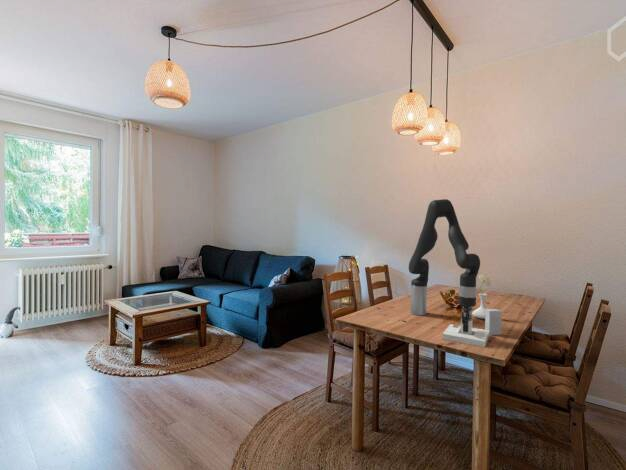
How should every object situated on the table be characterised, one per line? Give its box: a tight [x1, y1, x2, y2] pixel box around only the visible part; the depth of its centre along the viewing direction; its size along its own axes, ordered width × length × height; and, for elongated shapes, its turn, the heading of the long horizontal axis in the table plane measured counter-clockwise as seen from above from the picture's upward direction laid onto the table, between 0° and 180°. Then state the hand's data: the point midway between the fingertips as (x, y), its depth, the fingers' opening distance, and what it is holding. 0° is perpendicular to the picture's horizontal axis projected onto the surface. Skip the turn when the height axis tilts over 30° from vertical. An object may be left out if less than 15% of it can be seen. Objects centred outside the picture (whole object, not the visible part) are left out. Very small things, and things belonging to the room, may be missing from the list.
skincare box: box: [484, 308, 502, 336], centre depth 166 cm, size 6×4×12 cm
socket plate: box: [442, 323, 490, 348], centre depth 160 cm, size 18×18×3 cm
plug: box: [460, 316, 474, 335], centre depth 160 cm, size 4×4×9 cm
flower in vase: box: [472, 273, 491, 320], centre depth 194 cm, size 13×11×25 cm
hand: (466, 330), depth 160 cm, fingers closed on plug, 4 cm apart
